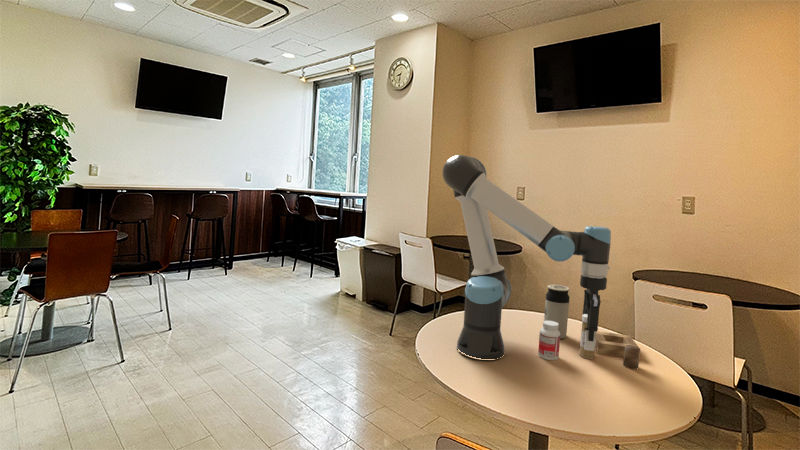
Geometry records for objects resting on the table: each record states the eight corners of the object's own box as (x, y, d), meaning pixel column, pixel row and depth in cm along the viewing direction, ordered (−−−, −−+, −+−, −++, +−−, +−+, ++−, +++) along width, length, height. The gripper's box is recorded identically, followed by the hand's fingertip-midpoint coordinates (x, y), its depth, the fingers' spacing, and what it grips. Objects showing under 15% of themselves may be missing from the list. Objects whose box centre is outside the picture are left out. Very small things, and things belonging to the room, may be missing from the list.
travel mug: (568, 334, 148) (572, 286, 146) (563, 341, 141) (568, 291, 140) (545, 329, 152) (549, 283, 150) (540, 335, 146) (544, 287, 144)
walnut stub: (625, 368, 122) (627, 349, 121) (621, 362, 125) (623, 344, 125) (639, 370, 120) (641, 351, 120) (636, 364, 124) (638, 346, 124)
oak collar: (597, 353, 132) (598, 343, 131) (591, 340, 143) (592, 330, 143) (638, 359, 128) (639, 348, 128) (628, 345, 140) (629, 335, 140)
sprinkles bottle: (597, 357, 128) (601, 316, 127) (589, 360, 126) (592, 318, 125) (584, 352, 132) (587, 312, 131) (575, 354, 130) (579, 314, 128)
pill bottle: (549, 351, 132) (552, 319, 130) (562, 359, 126) (565, 325, 125) (533, 353, 129) (536, 320, 128) (546, 361, 124) (549, 327, 123)
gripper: (613, 283, 117) (606, 359, 119) (601, 271, 134) (595, 338, 136) (585, 280, 119) (578, 355, 121) (576, 268, 136) (571, 334, 139)
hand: (587, 346), depth 129 cm, fingers open, 5 cm apart
